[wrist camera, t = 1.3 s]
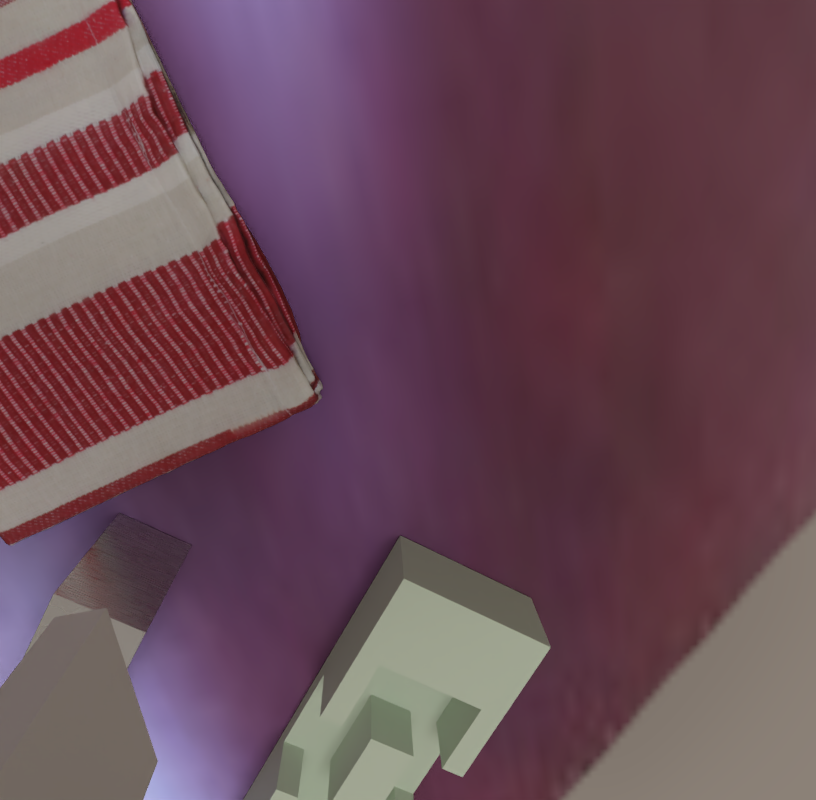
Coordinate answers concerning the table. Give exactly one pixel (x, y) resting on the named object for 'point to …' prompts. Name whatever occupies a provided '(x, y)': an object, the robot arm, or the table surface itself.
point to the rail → (407, 684)
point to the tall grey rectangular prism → (121, 580)
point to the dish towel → (120, 275)
